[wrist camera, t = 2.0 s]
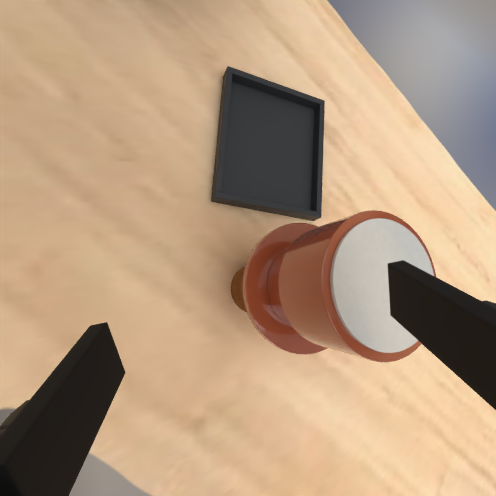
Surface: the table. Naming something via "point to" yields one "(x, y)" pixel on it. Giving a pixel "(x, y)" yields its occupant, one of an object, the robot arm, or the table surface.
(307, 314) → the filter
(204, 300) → the table surface
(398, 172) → the table surface
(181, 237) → the table surface
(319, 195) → the drip tray
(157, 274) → the table surface
